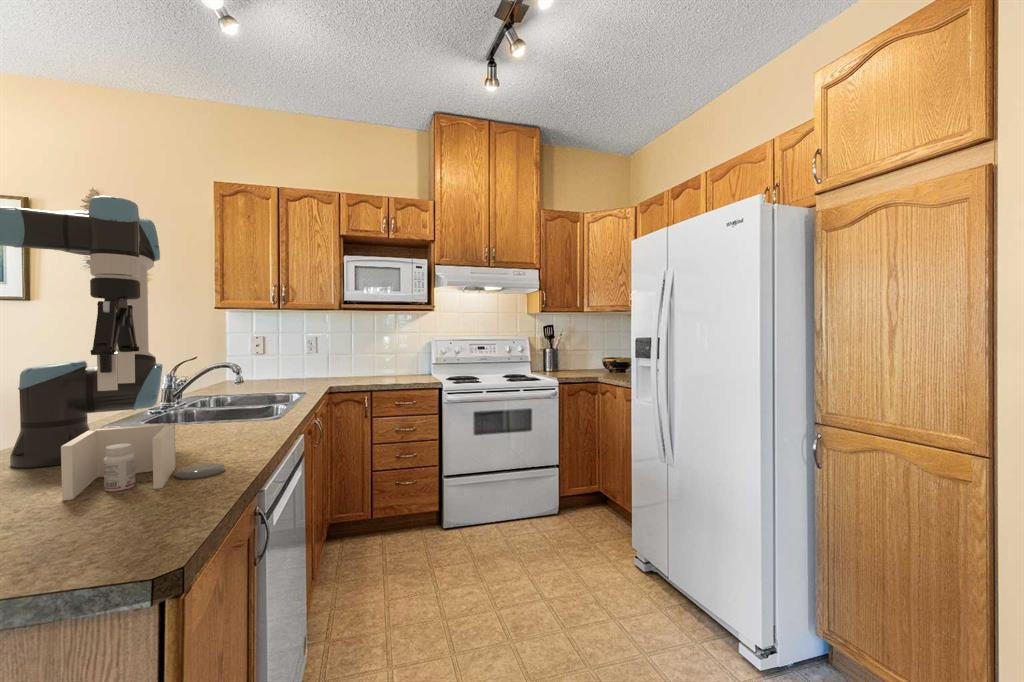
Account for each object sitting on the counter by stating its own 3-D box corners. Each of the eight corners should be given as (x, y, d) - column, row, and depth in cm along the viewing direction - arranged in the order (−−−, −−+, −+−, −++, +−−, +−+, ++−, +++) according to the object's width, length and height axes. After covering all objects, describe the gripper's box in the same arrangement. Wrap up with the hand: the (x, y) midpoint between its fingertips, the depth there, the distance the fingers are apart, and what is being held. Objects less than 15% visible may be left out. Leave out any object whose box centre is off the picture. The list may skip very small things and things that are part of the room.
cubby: (90, 476, 101) (89, 429, 100) (175, 467, 108) (174, 423, 107) (62, 500, 87) (60, 446, 86) (162, 487, 94) (161, 437, 93)
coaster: (178, 470, 105) (178, 466, 105) (225, 465, 109) (225, 461, 109) (171, 482, 97) (171, 478, 97) (223, 475, 101) (222, 472, 101)
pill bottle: (130, 482, 97) (130, 441, 97) (138, 487, 94) (138, 445, 94) (100, 488, 93) (99, 446, 93) (108, 493, 90) (107, 450, 90)
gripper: (109, 283, 102) (111, 381, 102) (67, 270, 80) (69, 395, 80) (152, 284, 105) (154, 379, 106) (123, 272, 83) (125, 392, 84)
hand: (117, 386), depth 93 cm, fingers open, 13 cm apart
